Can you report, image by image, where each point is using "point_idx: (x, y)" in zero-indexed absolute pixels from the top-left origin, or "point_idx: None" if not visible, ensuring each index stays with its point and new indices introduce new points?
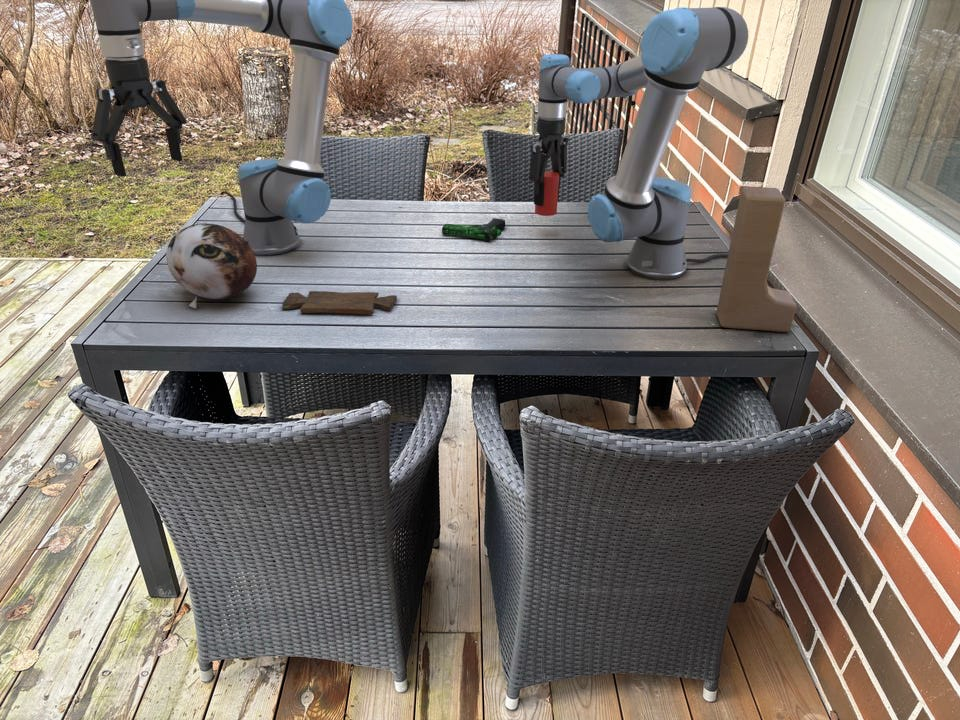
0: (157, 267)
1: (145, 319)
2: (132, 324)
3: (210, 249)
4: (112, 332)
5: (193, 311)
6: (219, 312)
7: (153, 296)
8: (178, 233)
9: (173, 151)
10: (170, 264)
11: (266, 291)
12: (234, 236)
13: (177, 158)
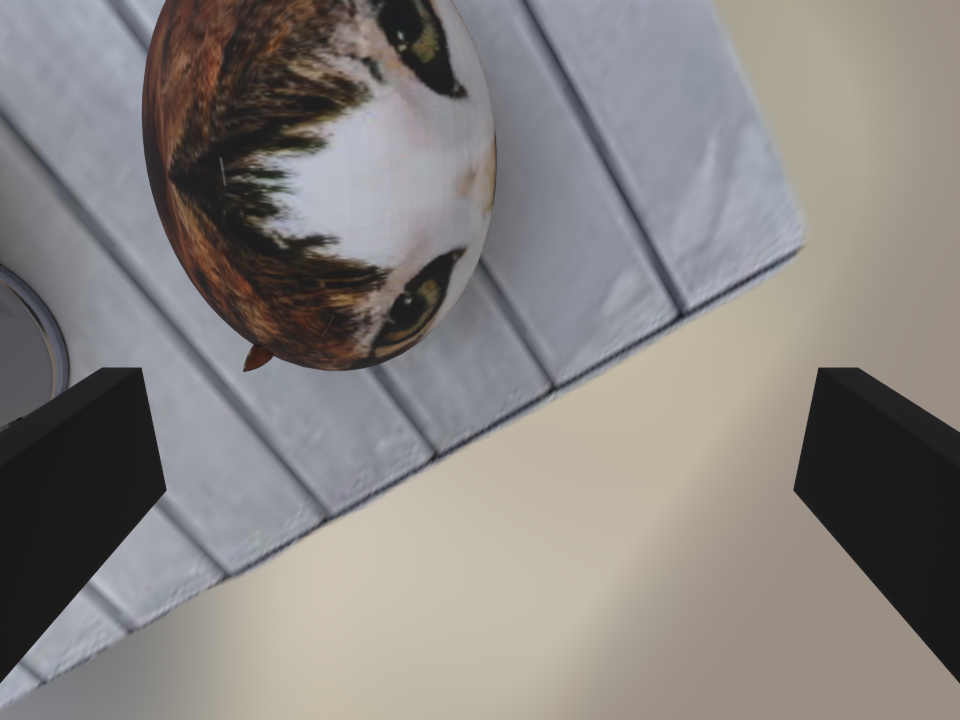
0: (344, 500)
1: (612, 221)
2: (656, 226)
3: (395, 6)
4: (723, 231)
5: None
6: None
7: (487, 339)
8: (387, 286)
9: (100, 487)
10: (484, 240)
11: None
12: (214, 3)
13: (132, 406)
